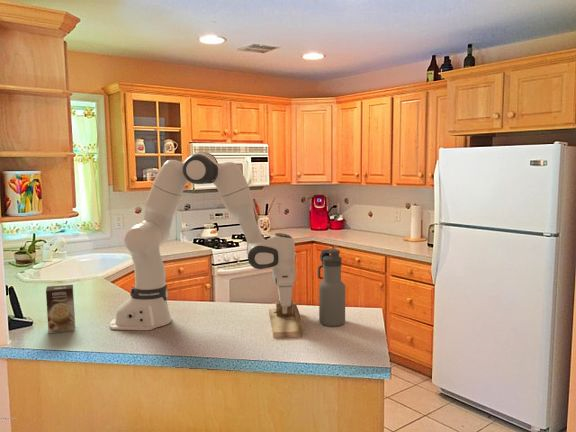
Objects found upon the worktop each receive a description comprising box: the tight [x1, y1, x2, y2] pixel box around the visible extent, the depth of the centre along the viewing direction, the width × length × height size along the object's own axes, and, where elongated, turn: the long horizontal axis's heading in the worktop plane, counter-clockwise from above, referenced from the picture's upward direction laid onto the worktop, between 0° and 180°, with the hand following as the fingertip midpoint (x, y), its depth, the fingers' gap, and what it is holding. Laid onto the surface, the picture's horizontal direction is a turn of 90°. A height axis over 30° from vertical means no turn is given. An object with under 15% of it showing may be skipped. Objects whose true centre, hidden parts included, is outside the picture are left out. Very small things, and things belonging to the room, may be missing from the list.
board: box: [268, 301, 304, 339], centre depth 186 cm, size 11×26×4 cm, turn 5°
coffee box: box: [45, 284, 76, 334], centre depth 183 cm, size 9×6×16 cm
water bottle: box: [317, 248, 346, 327], centre depth 186 cm, size 10×10×28 cm
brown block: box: [274, 300, 293, 317], centre depth 191 cm, size 7×4×5 cm, turn 95°
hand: (284, 310), depth 191 cm, fingers closed on brown block, 4 cm apart
